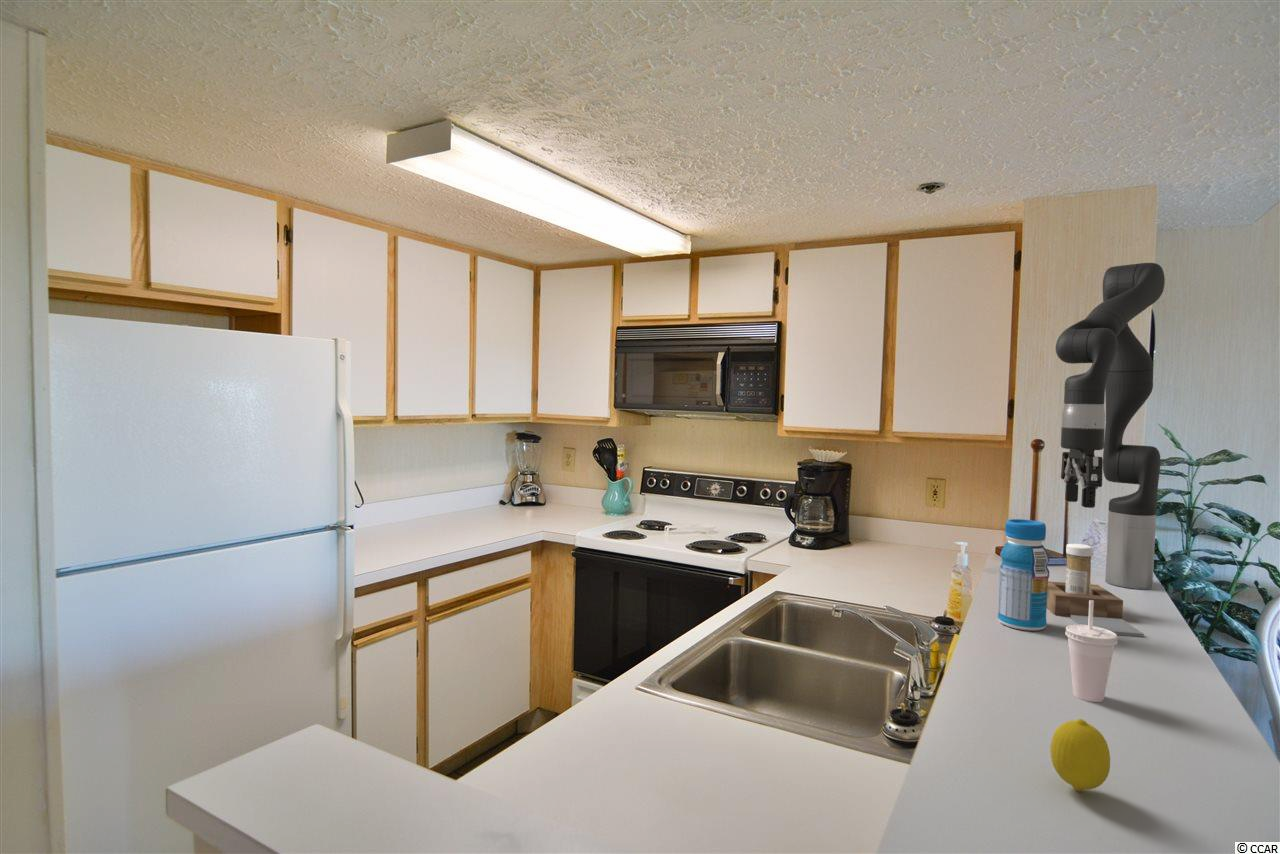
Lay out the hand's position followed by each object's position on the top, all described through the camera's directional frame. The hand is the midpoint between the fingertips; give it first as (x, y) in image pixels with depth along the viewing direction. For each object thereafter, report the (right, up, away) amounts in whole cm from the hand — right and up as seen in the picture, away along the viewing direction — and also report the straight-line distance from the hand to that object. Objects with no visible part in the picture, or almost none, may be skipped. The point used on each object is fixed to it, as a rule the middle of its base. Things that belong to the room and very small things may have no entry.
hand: (1079, 504), depth 143 cm
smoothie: (-26, -24, -42) cm, 55 cm away
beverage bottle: (-17, -22, -10) cm, 30 cm away
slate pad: (-2, -22, -10) cm, 25 cm away
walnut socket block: (0, -22, +1) cm, 22 cm away
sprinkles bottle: (0, -22, +1) cm, 22 cm away
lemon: (-43, -24, -67) cm, 83 cm away
